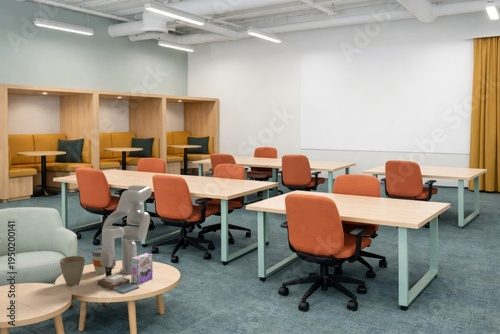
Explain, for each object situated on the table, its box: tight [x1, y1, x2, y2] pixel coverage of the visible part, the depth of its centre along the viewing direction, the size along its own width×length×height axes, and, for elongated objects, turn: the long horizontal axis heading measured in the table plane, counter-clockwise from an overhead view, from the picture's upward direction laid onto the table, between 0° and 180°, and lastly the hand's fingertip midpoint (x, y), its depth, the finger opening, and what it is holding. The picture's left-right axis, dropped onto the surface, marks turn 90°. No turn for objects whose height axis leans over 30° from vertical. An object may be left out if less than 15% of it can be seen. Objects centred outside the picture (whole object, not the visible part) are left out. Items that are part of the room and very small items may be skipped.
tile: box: [104, 273, 125, 283], centre depth 286 cm, size 8×8×2 cm
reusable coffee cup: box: [91, 247, 106, 275], centre depth 311 cm, size 13×13×15 cm
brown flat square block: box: [96, 277, 131, 291], centre depth 287 cm, size 14×14×3 cm
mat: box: [112, 282, 140, 295], centre depth 280 cm, size 12×10×1 cm
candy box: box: [130, 252, 153, 285], centre depth 294 cm, size 14×6×16 cm, turn 149°
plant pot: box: [59, 255, 86, 287], centre depth 286 cm, size 15×15×16 cm
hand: (108, 276), depth 289 cm, fingers closed
